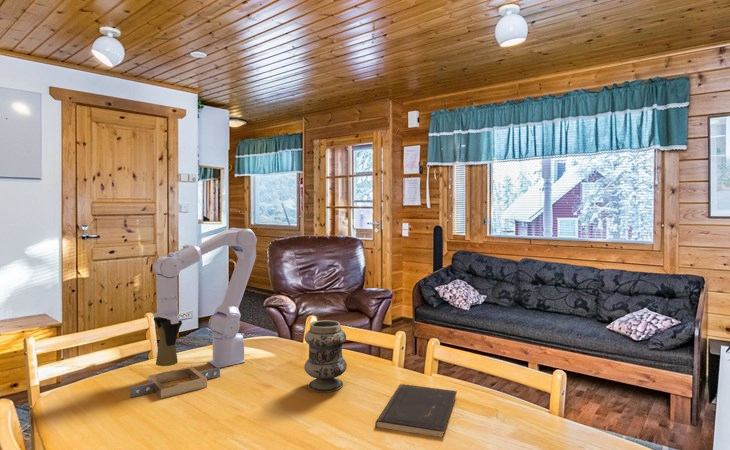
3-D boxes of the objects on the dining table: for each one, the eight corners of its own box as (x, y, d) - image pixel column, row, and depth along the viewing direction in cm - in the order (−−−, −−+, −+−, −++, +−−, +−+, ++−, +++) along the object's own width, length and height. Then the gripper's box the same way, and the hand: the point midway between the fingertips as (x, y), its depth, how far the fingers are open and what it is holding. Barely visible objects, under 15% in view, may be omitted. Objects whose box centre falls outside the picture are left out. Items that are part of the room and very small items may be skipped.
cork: (171, 366, 136) (172, 329, 136) (151, 365, 137) (152, 327, 136) (181, 360, 142) (182, 324, 142) (162, 358, 143) (163, 322, 142)
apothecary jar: (334, 374, 143) (334, 316, 142) (354, 388, 132) (354, 325, 132) (297, 383, 136) (297, 321, 135) (316, 397, 126) (315, 331, 125)
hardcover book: (456, 399, 127) (456, 390, 127) (443, 440, 105) (444, 430, 105) (398, 391, 132) (398, 383, 132) (375, 429, 110) (375, 419, 110)
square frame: (211, 370, 146) (211, 362, 146) (227, 382, 137) (227, 373, 136) (125, 389, 131) (124, 380, 131) (136, 404, 121) (136, 395, 121)
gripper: (146, 295, 142) (147, 339, 143) (160, 303, 131) (160, 351, 131) (170, 292, 146) (171, 335, 147) (185, 300, 135) (186, 346, 136)
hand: (168, 342), depth 139 cm, fingers closed on cork, 5 cm apart
